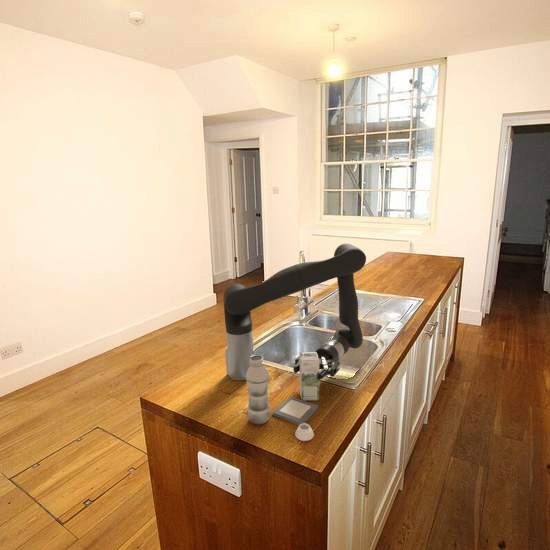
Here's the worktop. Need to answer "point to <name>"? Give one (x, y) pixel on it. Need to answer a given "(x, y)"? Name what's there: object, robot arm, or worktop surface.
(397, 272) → the worktop surface
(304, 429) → the white jar
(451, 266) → the worktop surface
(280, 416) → the plate
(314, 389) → the syrup box
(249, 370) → the plastic bottle
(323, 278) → the robot arm
